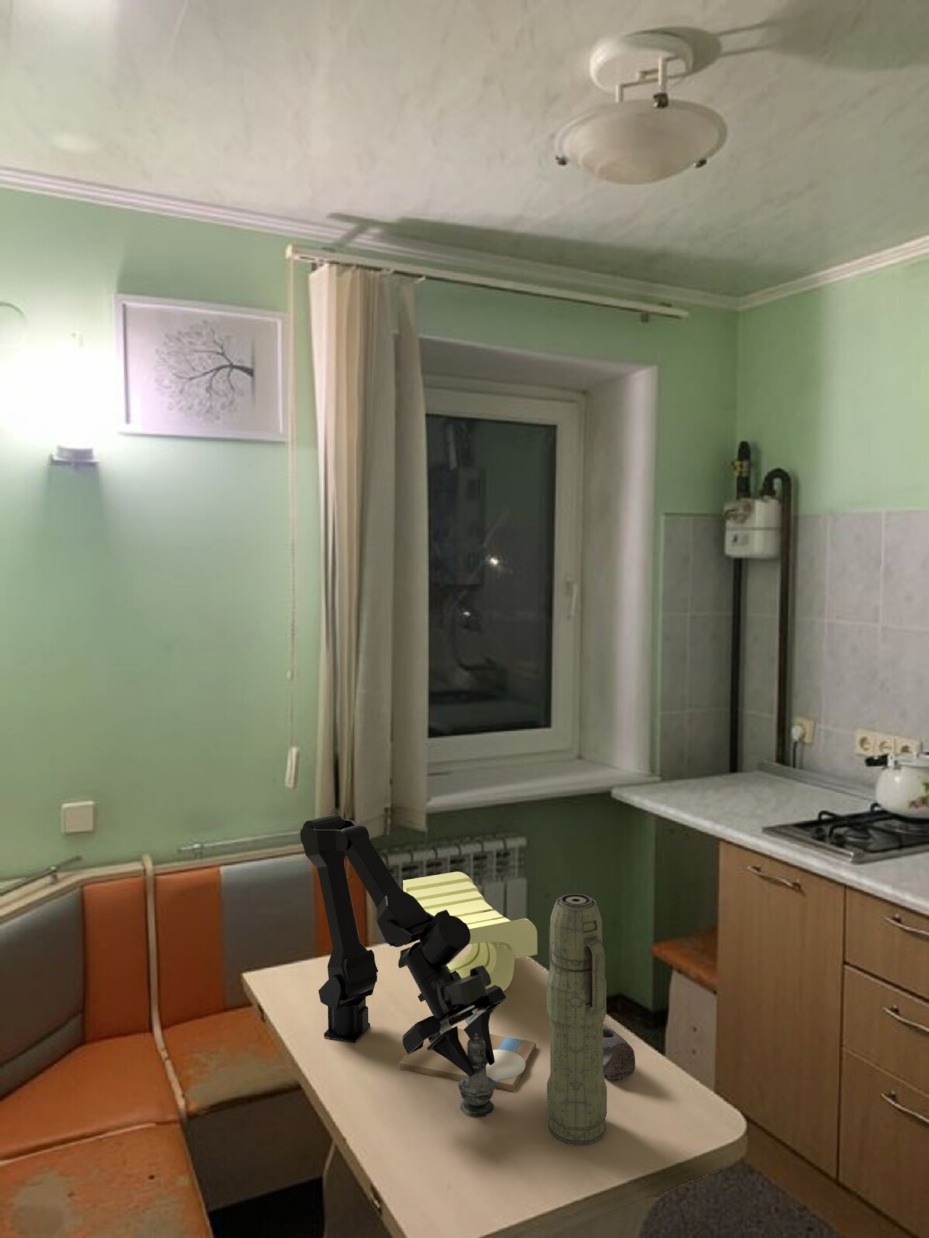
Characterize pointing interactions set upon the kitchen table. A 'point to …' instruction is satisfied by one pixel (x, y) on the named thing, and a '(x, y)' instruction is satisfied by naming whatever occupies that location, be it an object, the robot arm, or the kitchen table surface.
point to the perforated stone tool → (617, 1055)
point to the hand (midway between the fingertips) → (482, 1069)
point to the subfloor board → (506, 1052)
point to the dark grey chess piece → (477, 1082)
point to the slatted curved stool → (476, 925)
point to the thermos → (576, 1021)
